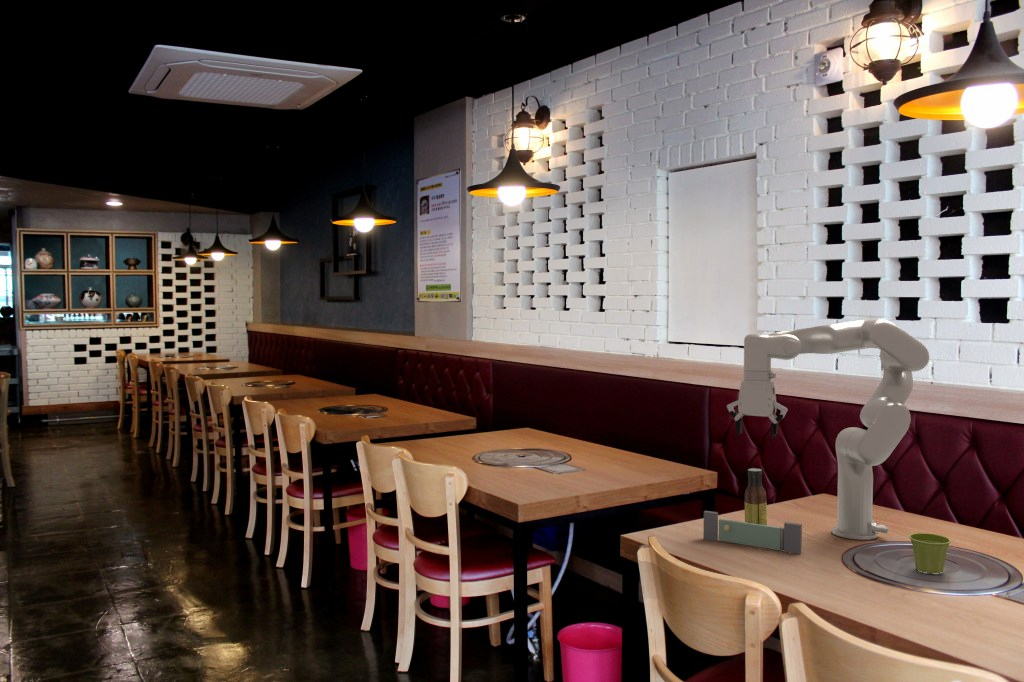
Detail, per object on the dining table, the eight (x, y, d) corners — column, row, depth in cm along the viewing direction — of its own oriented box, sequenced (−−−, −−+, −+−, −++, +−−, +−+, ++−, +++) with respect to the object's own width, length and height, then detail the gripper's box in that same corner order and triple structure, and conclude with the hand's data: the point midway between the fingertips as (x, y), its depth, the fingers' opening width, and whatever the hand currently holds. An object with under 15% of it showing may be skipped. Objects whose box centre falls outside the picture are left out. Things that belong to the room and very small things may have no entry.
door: (784, 549, 222) (785, 527, 221) (782, 551, 219) (782, 530, 219) (719, 539, 231) (720, 518, 231) (717, 541, 229) (717, 520, 229)
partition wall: (801, 553, 219) (801, 523, 219) (800, 554, 218) (800, 525, 218) (705, 537, 234) (705, 510, 234) (703, 539, 233) (703, 511, 232)
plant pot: (934, 580, 198) (935, 545, 197) (900, 569, 206) (901, 535, 206) (958, 574, 202) (959, 540, 202) (924, 563, 210) (924, 531, 210)
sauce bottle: (764, 534, 238) (765, 467, 237) (769, 540, 232) (770, 471, 231) (742, 533, 239) (742, 467, 238) (746, 539, 232) (747, 471, 232)
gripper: (790, 377, 232) (790, 436, 233) (731, 374, 241) (730, 431, 242) (784, 379, 226) (783, 439, 226) (723, 376, 235) (723, 434, 236)
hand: (756, 435), depth 234 cm, fingers open, 9 cm apart
